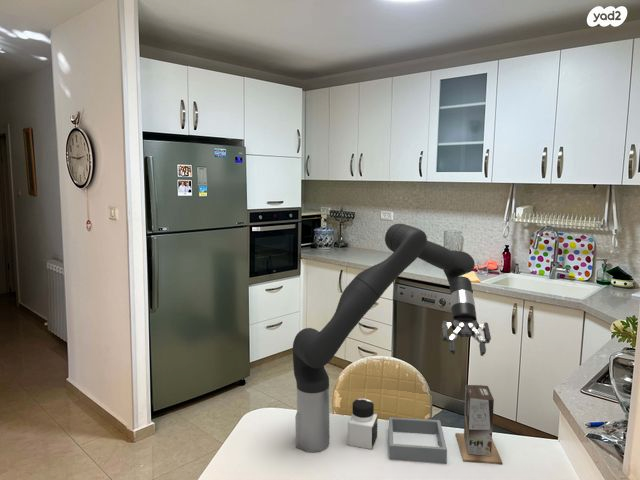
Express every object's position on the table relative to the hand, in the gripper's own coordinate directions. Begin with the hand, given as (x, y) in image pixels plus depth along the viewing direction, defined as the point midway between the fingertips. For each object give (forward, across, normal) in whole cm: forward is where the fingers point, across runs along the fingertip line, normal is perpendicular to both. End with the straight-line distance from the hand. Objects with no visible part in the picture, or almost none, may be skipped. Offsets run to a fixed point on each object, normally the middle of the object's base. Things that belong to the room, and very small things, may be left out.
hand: (467, 354), depth 137 cm
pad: (+25, +1, +6) cm, 26 cm away
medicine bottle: (+26, -31, +7) cm, 41 cm away
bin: (+26, -16, +6) cm, 31 cm away
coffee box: (+25, +1, +6) cm, 26 cm away
